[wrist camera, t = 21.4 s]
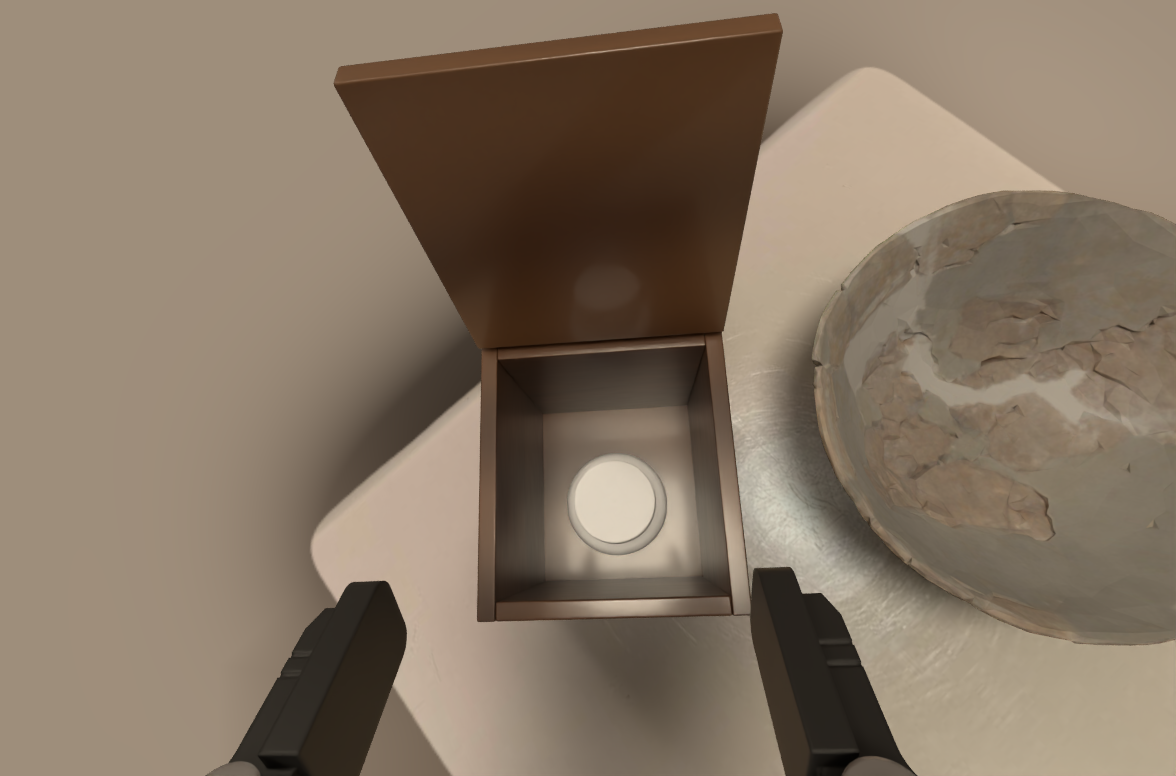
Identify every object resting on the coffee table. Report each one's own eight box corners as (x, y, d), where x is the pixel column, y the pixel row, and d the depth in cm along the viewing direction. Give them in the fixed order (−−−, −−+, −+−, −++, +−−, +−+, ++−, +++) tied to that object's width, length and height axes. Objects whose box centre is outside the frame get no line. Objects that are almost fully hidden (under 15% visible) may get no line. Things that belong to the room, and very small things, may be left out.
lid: (784, 29, 13) (778, 11, 14) (331, 84, 14) (338, 65, 15) (723, 331, 25) (721, 317, 25) (477, 349, 26) (479, 335, 27)
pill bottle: (565, 496, 36) (536, 481, 27) (632, 451, 37) (627, 421, 27) (610, 569, 35) (597, 580, 25) (680, 521, 35) (692, 515, 26)
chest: (715, 588, 35) (753, 615, 22) (535, 593, 36) (476, 622, 23) (697, 396, 38) (721, 328, 26) (533, 406, 39) (481, 345, 27)
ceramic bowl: (1228, 435, 34) (1456, 394, 24) (978, 701, 32) (1123, 772, 22) (932, 214, 40) (1022, 111, 30) (704, 424, 37) (723, 384, 28)
